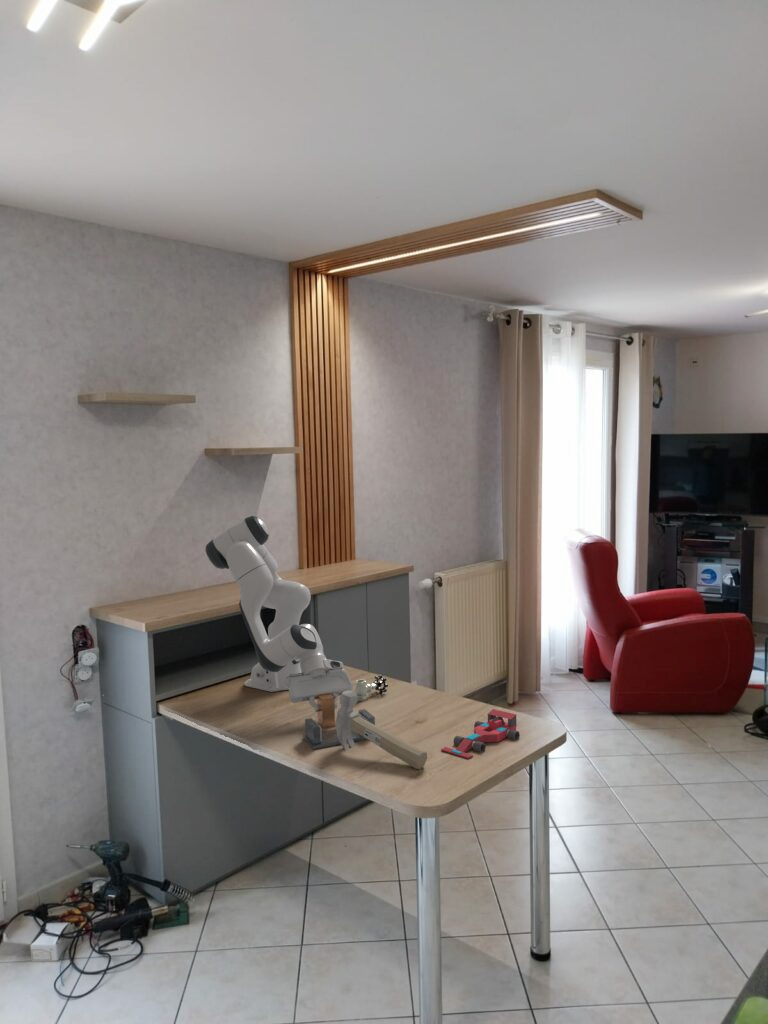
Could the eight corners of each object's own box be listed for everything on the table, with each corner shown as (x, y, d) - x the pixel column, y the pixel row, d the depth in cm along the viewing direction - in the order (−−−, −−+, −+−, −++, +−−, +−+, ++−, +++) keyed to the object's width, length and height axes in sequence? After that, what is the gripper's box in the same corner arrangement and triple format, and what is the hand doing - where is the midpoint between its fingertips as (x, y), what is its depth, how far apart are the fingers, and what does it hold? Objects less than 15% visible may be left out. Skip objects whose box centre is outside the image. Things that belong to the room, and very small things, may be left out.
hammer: (432, 732, 202) (349, 688, 221) (421, 737, 199) (338, 692, 217) (423, 785, 206) (342, 737, 224) (412, 791, 202) (331, 742, 220)
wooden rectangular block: (317, 722, 241) (316, 694, 240) (329, 720, 242) (328, 692, 241) (322, 727, 236) (321, 699, 235) (335, 725, 237) (334, 697, 237)
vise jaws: (303, 738, 228) (302, 718, 227) (365, 726, 235) (365, 707, 235) (313, 749, 219) (312, 729, 218) (378, 737, 226) (377, 717, 226)
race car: (433, 730, 216) (484, 706, 234) (434, 750, 216) (485, 726, 234) (474, 741, 206) (524, 716, 224) (475, 763, 207) (525, 736, 225)
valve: (363, 703, 259) (388, 694, 267) (362, 684, 258) (388, 676, 267) (350, 699, 263) (375, 691, 272) (349, 680, 263) (374, 672, 271)
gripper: (285, 670, 240) (296, 709, 232) (347, 661, 248) (359, 699, 240) (282, 680, 245) (292, 719, 236) (342, 671, 252) (354, 709, 244)
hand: (326, 709), depth 238 cm, fingers closed on wooden rectangular block, 4 cm apart
